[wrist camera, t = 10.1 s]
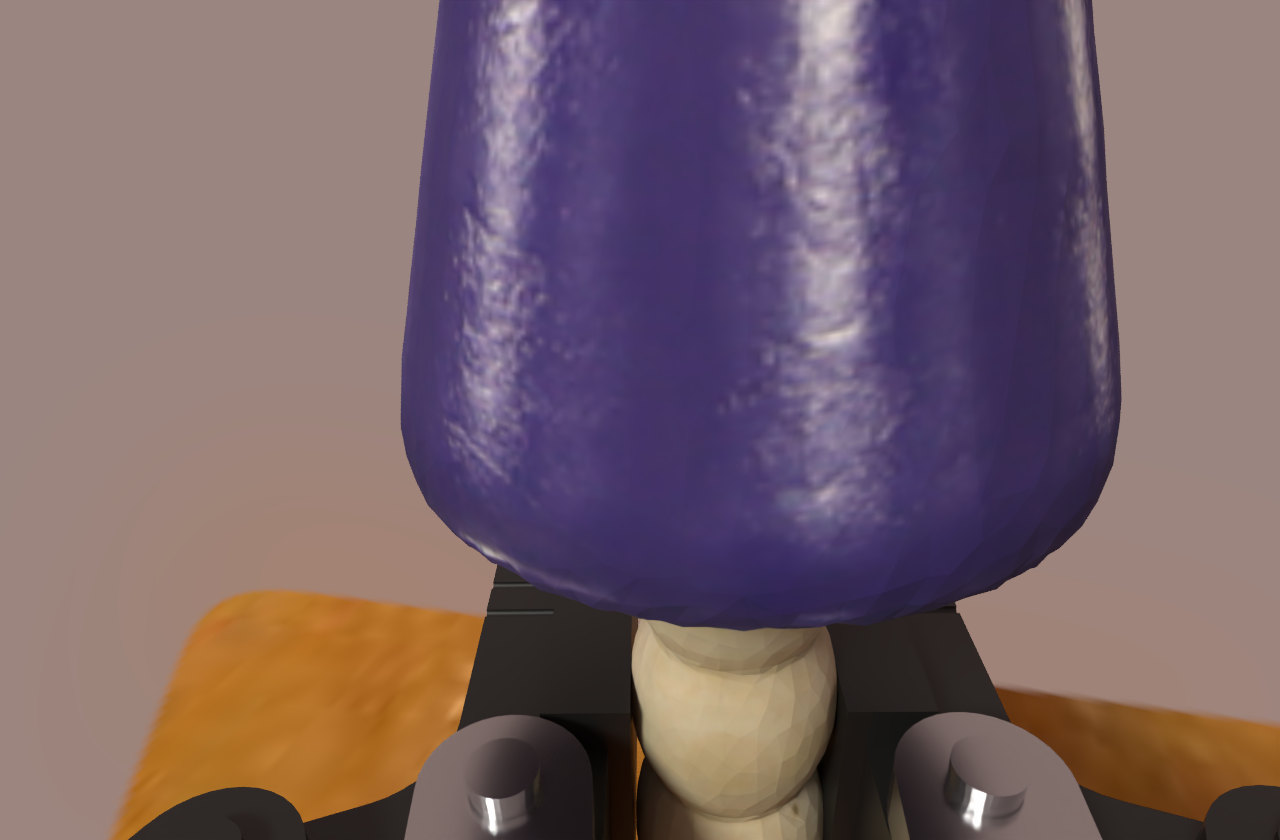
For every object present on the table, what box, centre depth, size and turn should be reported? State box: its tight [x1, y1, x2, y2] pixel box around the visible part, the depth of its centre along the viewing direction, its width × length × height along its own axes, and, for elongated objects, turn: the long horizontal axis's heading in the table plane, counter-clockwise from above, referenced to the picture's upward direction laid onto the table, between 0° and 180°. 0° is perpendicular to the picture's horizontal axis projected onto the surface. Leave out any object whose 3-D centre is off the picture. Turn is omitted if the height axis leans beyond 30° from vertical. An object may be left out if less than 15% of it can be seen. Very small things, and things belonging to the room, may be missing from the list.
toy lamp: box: [401, 0, 1121, 840], centre depth 8 cm, size 5×5×17 cm
